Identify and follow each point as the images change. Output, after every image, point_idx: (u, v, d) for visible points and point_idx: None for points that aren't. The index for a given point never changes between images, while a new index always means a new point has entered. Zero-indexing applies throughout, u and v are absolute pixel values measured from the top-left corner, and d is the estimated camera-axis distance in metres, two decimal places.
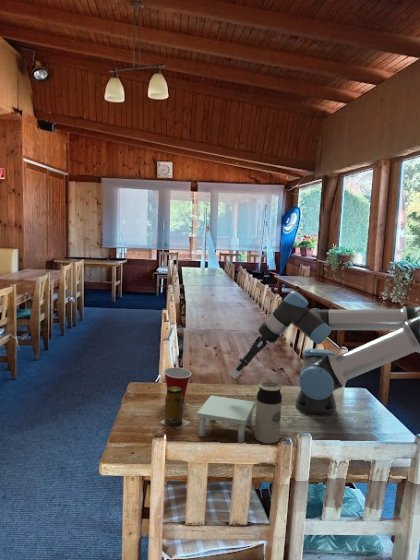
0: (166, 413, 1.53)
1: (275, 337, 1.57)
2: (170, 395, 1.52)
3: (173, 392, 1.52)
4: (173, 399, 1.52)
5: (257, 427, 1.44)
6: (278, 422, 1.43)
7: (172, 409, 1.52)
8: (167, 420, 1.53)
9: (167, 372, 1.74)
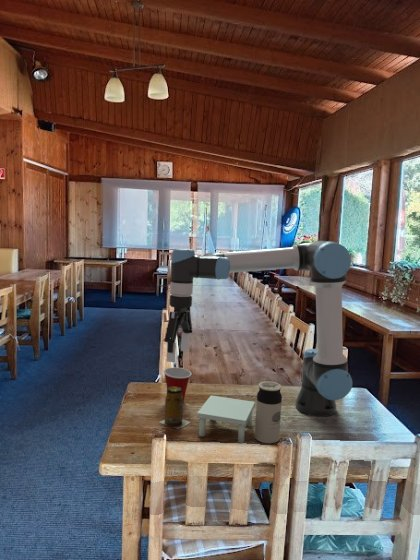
0: (166, 413, 1.53)
1: (185, 300, 1.47)
2: (170, 395, 1.52)
3: (173, 392, 1.52)
4: (173, 399, 1.52)
5: (257, 427, 1.44)
6: (278, 422, 1.43)
7: (172, 409, 1.52)
8: (167, 420, 1.53)
9: (167, 372, 1.74)
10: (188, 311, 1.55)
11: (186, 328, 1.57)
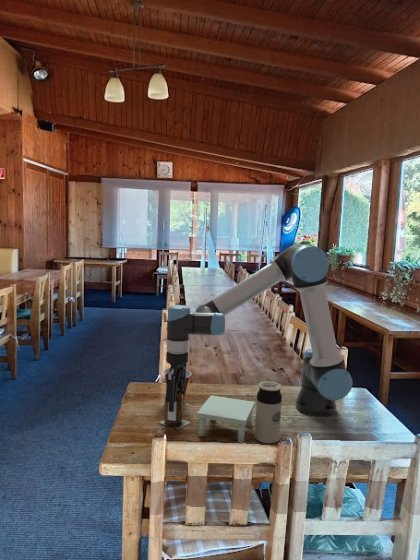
0: (166, 413, 1.53)
1: (182, 357, 1.49)
2: None
3: None
4: None
5: (257, 427, 1.44)
6: (278, 422, 1.43)
7: None
8: (167, 420, 1.53)
9: (167, 372, 1.74)
10: (184, 367, 1.57)
11: (180, 387, 1.56)
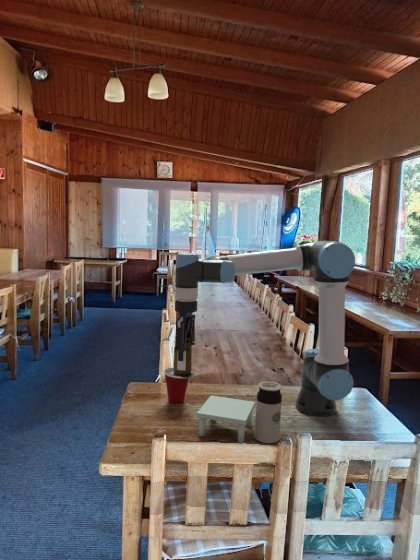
0: (175, 364, 1.50)
1: (191, 305, 1.46)
2: None
3: None
4: None
5: (257, 427, 1.44)
6: (278, 422, 1.43)
7: None
8: (176, 371, 1.50)
9: (167, 372, 1.74)
10: (193, 318, 1.54)
11: (189, 338, 1.54)
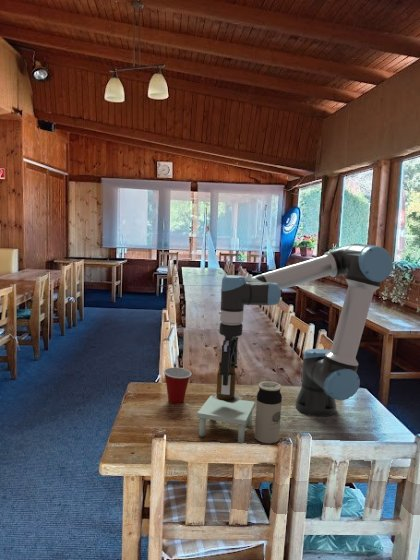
0: (219, 387, 1.47)
1: (237, 328, 1.43)
2: None
3: None
4: None
5: (257, 427, 1.44)
6: (278, 422, 1.43)
7: None
8: (220, 395, 1.47)
9: (167, 372, 1.74)
10: (236, 341, 1.52)
11: (232, 361, 1.51)
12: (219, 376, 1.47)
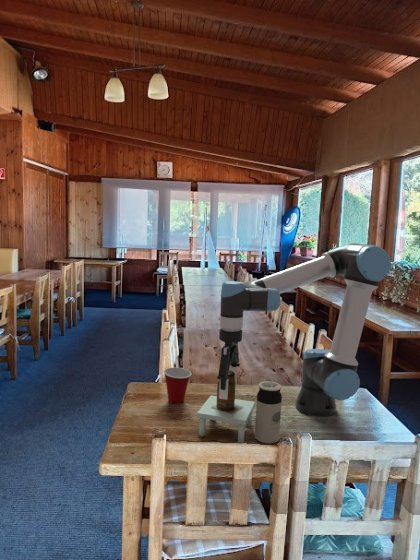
0: None
1: (236, 334, 1.44)
2: None
3: None
4: None
5: (257, 427, 1.44)
6: (278, 422, 1.43)
7: None
8: (220, 405, 1.48)
9: (167, 372, 1.74)
10: (236, 344, 1.52)
11: (234, 362, 1.53)
12: None
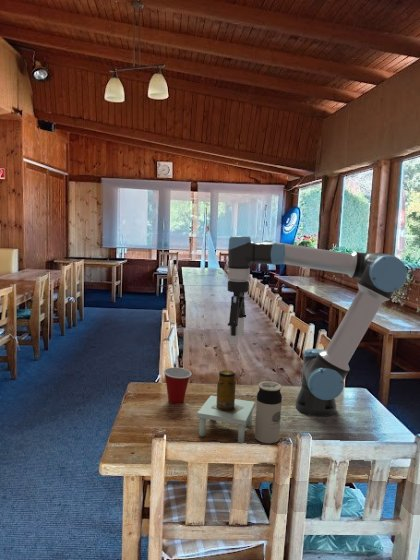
0: (219, 397, 1.48)
1: (244, 285, 1.53)
2: (223, 378, 1.47)
3: (227, 376, 1.46)
4: (226, 383, 1.46)
5: (257, 427, 1.44)
6: (278, 422, 1.43)
7: (225, 393, 1.47)
8: (220, 405, 1.48)
9: (167, 372, 1.74)
10: None
11: (241, 313, 1.63)
12: (219, 386, 1.48)
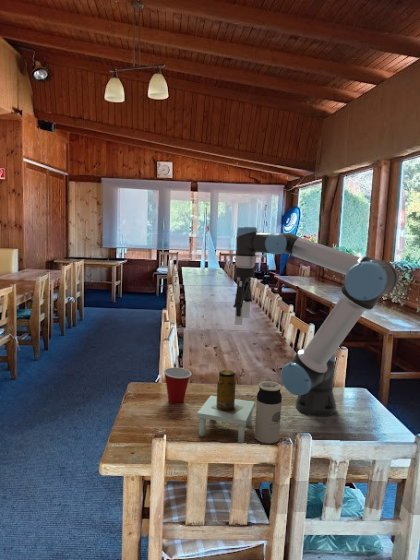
0: (219, 397, 1.48)
1: (250, 271, 1.69)
2: (223, 378, 1.47)
3: (227, 376, 1.46)
4: (226, 383, 1.46)
5: (257, 427, 1.44)
6: (278, 422, 1.43)
7: (225, 393, 1.47)
8: (220, 405, 1.48)
9: (167, 372, 1.74)
10: (249, 282, 1.77)
11: (247, 297, 1.79)
12: (219, 386, 1.48)
